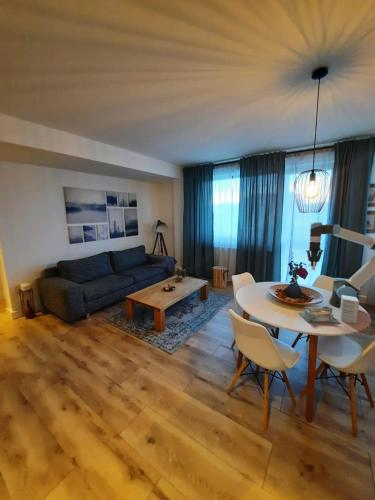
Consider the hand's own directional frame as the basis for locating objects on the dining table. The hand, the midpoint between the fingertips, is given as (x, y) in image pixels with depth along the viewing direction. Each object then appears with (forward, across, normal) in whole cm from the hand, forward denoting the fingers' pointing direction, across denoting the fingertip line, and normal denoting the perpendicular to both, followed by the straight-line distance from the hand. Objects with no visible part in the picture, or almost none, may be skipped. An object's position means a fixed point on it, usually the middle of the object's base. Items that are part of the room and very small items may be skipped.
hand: (313, 269), depth 170 cm
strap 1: (+27, +5, +17) cm, 32 cm away
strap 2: (+27, +8, +25) cm, 38 cm away
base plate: (+32, +6, +21) cm, 39 cm away
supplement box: (+32, -14, +24) cm, 42 cm away
